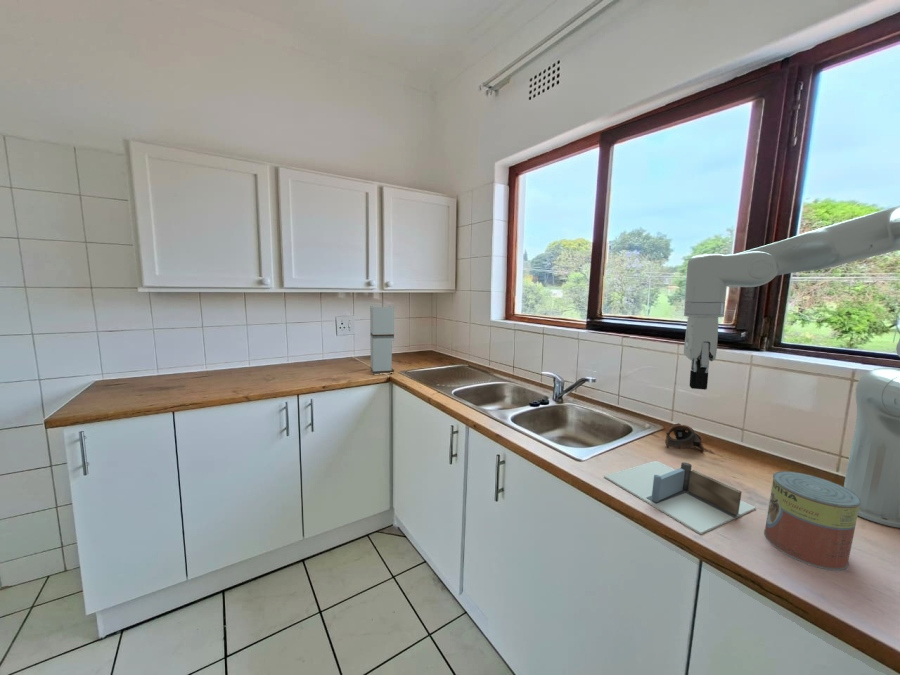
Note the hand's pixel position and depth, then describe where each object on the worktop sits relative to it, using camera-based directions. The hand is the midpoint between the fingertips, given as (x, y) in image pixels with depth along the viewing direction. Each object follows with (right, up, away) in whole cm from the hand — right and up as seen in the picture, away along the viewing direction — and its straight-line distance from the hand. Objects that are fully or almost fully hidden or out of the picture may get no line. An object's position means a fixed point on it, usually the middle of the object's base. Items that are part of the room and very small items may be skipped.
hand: (698, 388), depth 85 cm
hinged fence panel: (-9, -24, -3) cm, 26 cm away
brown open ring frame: (+12, -22, +24) cm, 34 cm away
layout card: (-6, -24, 0) cm, 25 cm away
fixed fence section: (-1, -25, -4) cm, 25 cm away
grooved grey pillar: (-95, -7, +108) cm, 144 cm away
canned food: (+8, -27, -17) cm, 33 cm away
